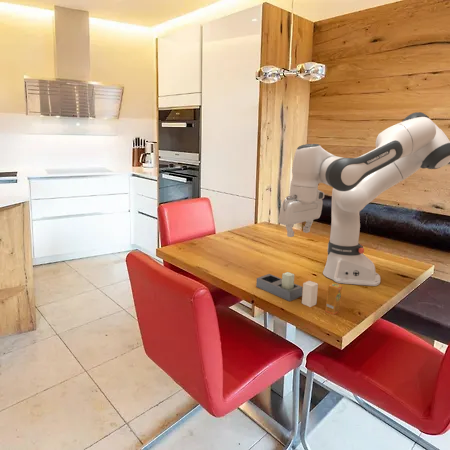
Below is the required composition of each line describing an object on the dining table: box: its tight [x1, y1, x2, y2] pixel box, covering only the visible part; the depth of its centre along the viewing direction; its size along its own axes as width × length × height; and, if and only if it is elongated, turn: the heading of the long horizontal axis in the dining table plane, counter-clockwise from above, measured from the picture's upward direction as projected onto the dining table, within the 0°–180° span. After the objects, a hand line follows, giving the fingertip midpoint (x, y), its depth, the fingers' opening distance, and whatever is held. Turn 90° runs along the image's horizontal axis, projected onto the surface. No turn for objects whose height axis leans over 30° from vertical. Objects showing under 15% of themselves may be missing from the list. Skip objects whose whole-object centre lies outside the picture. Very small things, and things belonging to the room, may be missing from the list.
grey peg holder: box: [255, 273, 303, 302], centre depth 139 cm, size 16×7×4 cm, turn 41°
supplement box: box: [324, 282, 343, 316], centre depth 123 cm, size 3×3×10 cm
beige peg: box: [281, 271, 295, 290], centre depth 135 cm, size 3×3×8 cm
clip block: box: [301, 280, 319, 308], centre depth 129 cm, size 4×4×8 cm
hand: (298, 234), depth 128 cm, fingers open, 8 cm apart
